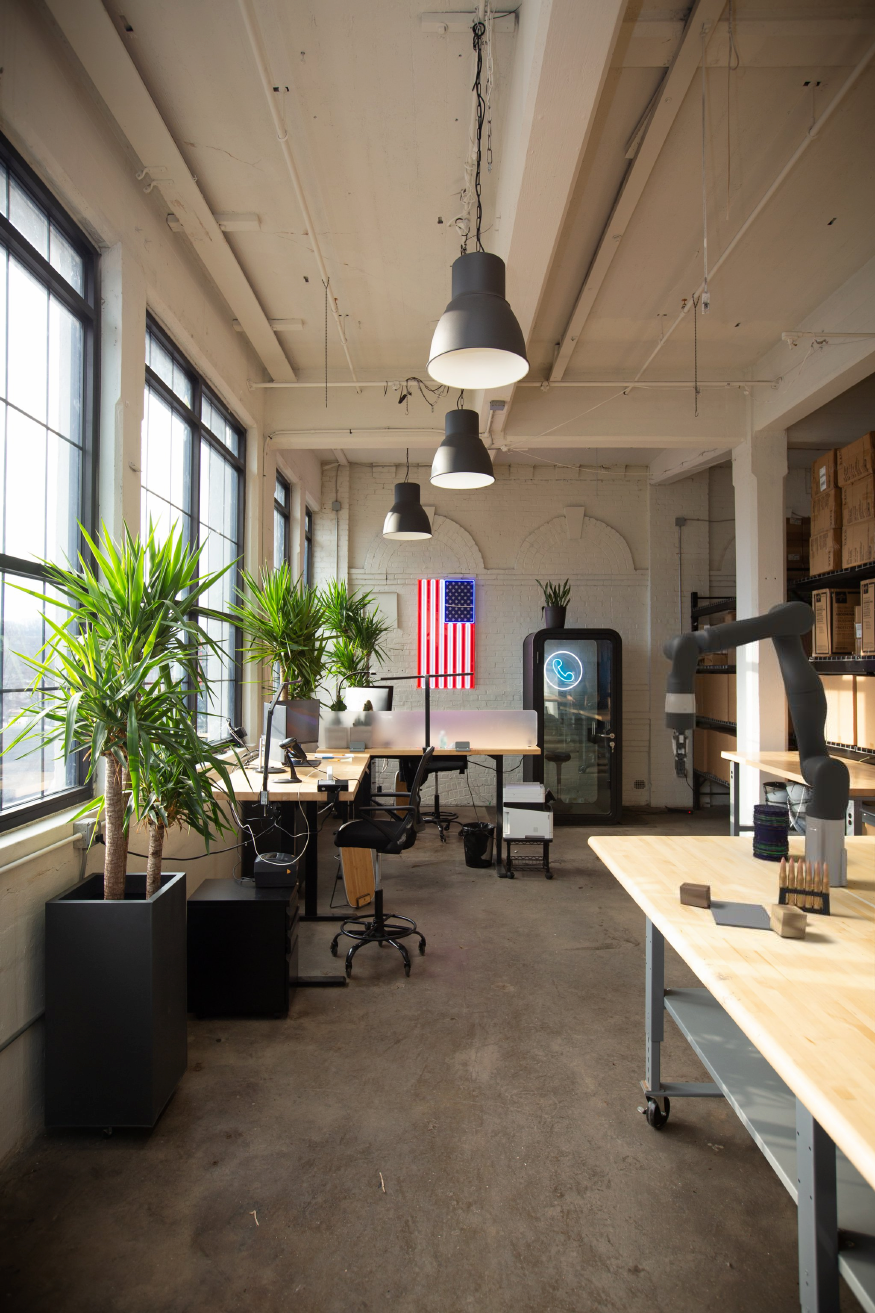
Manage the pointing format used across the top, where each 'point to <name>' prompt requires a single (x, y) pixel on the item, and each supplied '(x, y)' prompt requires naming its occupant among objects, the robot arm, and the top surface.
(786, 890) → the ammunition clip
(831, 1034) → the top surface
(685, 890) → the walnut block
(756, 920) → the pad
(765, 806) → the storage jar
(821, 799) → the robot arm
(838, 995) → the top surface
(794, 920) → the oak block
